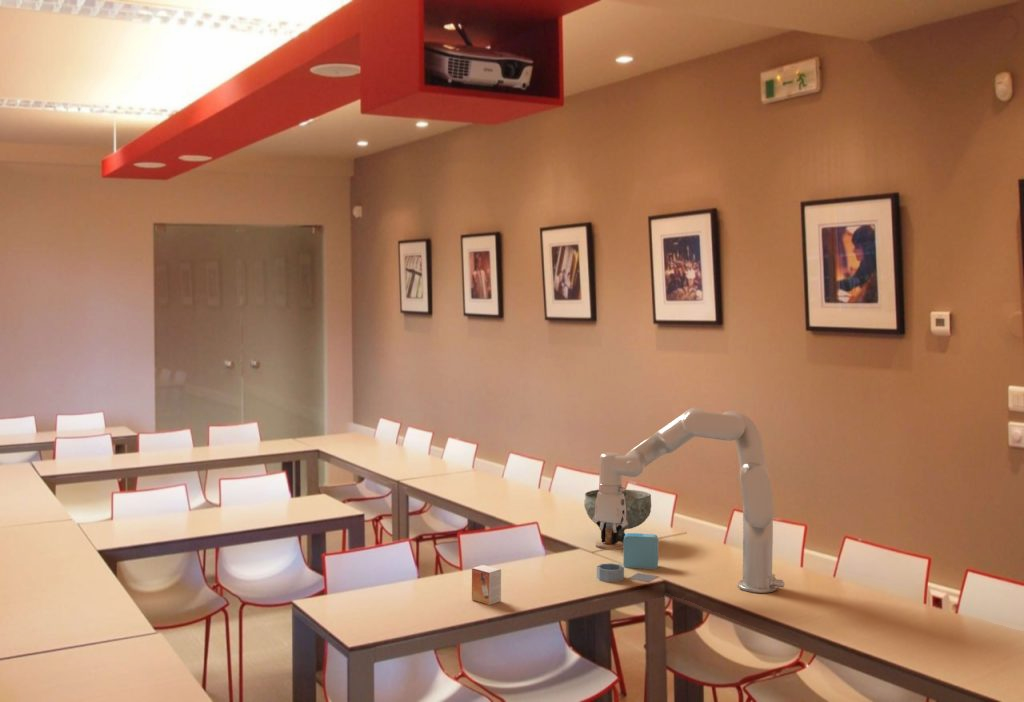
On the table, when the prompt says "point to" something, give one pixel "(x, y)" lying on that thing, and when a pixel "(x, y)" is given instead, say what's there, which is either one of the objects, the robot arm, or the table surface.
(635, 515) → the decorative bowl
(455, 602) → the table surface
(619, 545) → the lid
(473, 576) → the small box
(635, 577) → the mat
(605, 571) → the bowl
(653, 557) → the data package
